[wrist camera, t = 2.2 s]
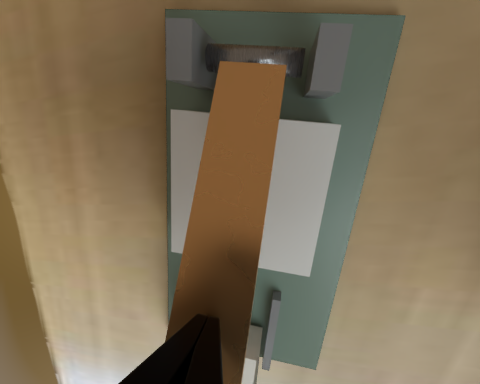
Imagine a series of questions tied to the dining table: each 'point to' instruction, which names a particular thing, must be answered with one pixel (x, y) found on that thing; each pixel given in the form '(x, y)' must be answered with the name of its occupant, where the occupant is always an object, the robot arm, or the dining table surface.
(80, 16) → the dining table surface
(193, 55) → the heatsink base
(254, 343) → the block
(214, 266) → the strap
